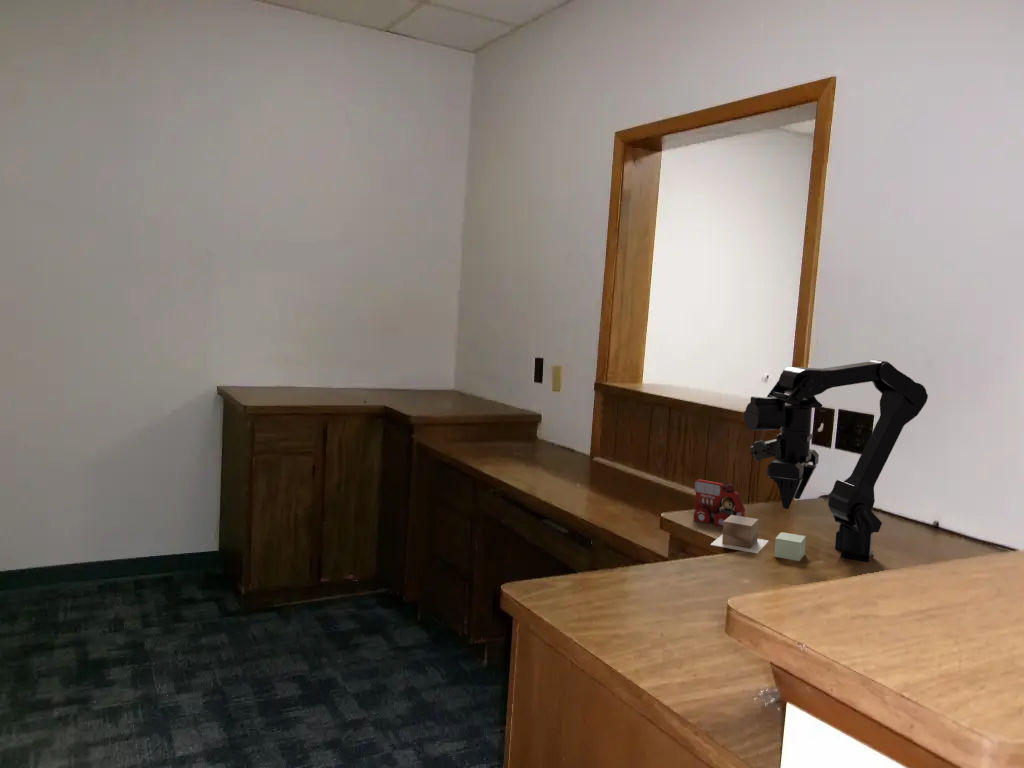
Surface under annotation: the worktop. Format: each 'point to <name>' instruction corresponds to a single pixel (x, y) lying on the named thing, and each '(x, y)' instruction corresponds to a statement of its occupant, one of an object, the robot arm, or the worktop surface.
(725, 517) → the toy fire truck
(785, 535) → the sage cube
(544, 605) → the worktop surface
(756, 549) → the build pad
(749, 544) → the walnut block
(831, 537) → the worktop surface
